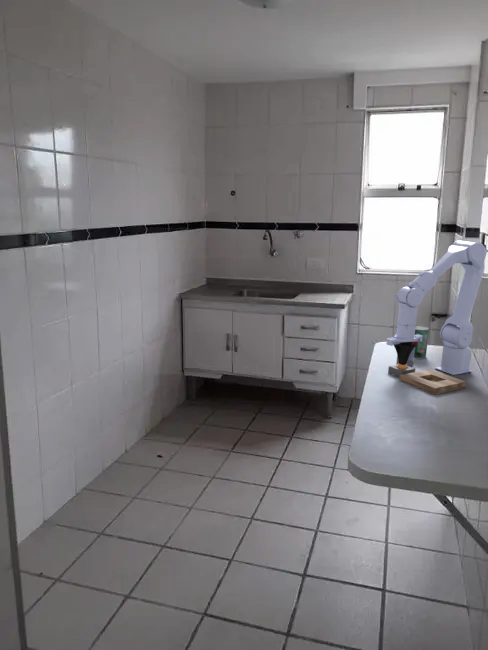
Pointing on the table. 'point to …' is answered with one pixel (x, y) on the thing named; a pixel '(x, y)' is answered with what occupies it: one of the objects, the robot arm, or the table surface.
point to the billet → (409, 359)
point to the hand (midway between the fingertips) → (402, 364)
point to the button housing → (400, 370)
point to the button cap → (402, 366)
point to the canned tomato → (421, 342)
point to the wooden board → (432, 381)
